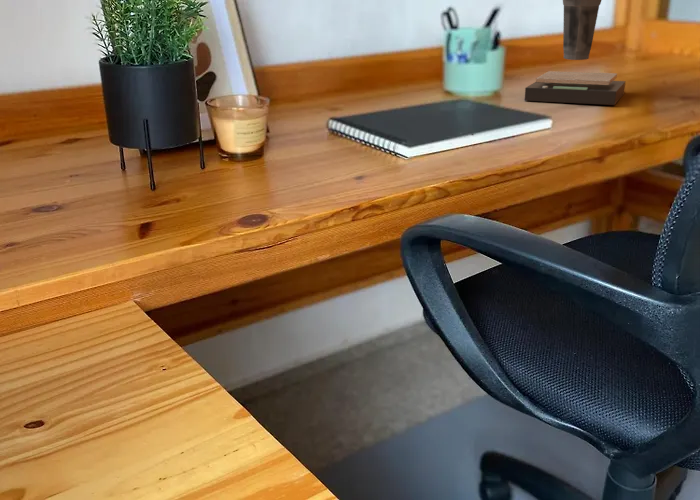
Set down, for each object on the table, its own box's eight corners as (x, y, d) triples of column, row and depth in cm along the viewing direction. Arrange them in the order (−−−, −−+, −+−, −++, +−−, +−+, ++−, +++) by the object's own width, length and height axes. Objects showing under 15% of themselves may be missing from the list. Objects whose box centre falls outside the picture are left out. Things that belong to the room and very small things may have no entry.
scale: (624, 93, 138) (625, 79, 137) (614, 105, 127) (616, 89, 126) (540, 90, 145) (541, 76, 144) (524, 100, 133) (525, 85, 132)
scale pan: (616, 77, 136) (617, 73, 136) (608, 85, 127) (609, 80, 127) (548, 75, 142) (548, 71, 142) (535, 82, 133) (535, 78, 132)
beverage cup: (604, 58, 133) (618, -59, 125) (578, 62, 129) (591, -58, 121) (573, 53, 138) (584, -59, 130) (547, 57, 134) (557, -58, 126)
